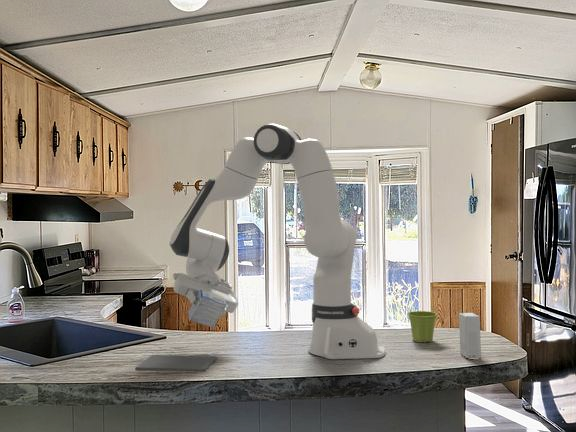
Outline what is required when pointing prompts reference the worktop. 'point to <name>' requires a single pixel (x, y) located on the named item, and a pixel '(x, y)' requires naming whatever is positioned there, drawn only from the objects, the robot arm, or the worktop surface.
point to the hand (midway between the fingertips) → (209, 307)
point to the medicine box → (207, 308)
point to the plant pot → (422, 325)
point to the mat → (176, 363)
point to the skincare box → (470, 335)
